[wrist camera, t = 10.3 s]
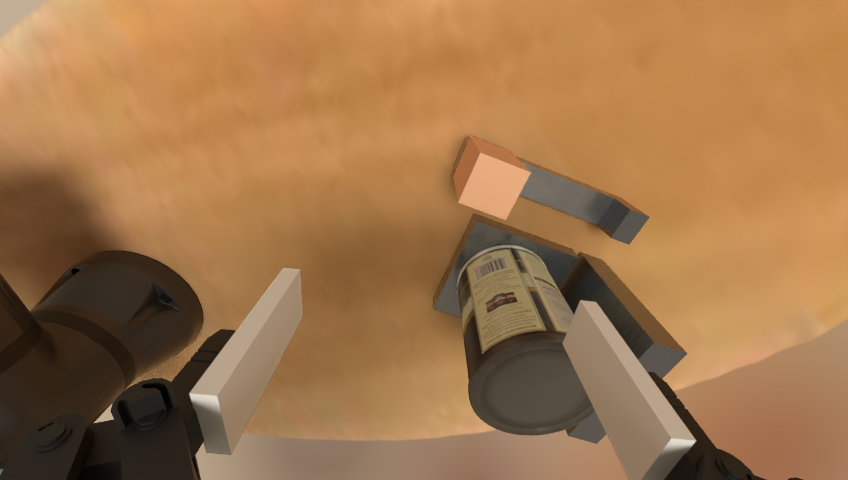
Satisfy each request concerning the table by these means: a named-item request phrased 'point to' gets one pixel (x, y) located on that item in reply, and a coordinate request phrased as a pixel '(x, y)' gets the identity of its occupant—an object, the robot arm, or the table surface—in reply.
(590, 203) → the rail
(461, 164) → the lever knob
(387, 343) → the table surface
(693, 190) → the table surface
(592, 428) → the tray
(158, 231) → the table surface
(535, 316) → the coffee can
